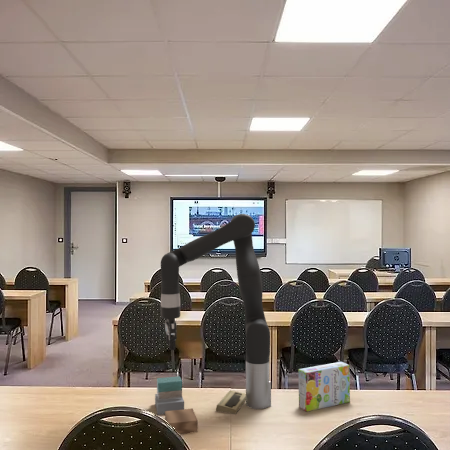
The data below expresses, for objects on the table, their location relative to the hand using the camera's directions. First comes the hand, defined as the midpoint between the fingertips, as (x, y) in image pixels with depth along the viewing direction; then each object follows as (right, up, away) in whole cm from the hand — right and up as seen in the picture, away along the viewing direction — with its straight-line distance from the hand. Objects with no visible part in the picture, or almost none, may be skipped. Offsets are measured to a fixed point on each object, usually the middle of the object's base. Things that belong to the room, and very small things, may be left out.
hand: (170, 346), depth 172 cm
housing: (-1, -20, 0) cm, 20 cm away
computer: (+24, -24, +3) cm, 34 cm away
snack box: (+60, -24, +3) cm, 65 cm away
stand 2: (+5, -24, -16) cm, 29 cm away
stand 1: (-1, -24, 0) cm, 24 cm away
